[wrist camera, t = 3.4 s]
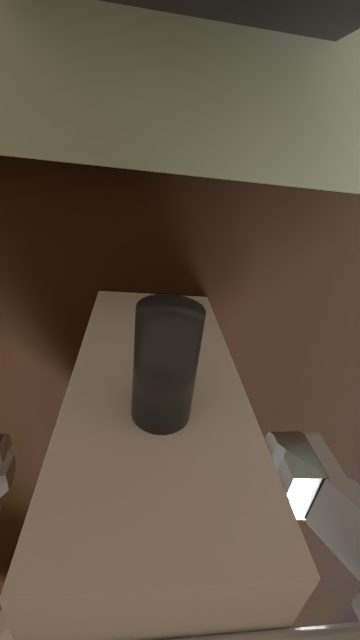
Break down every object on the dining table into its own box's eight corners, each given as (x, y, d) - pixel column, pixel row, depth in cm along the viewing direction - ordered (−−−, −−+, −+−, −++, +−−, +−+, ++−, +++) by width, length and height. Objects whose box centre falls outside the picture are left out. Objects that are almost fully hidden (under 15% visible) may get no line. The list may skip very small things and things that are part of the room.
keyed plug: (216, 233, 11) (397, 455, 3) (186, 423, 15) (231, 721, 7) (97, 223, 10) (-50, 461, 3) (100, 422, 15) (49, 744, 7)
